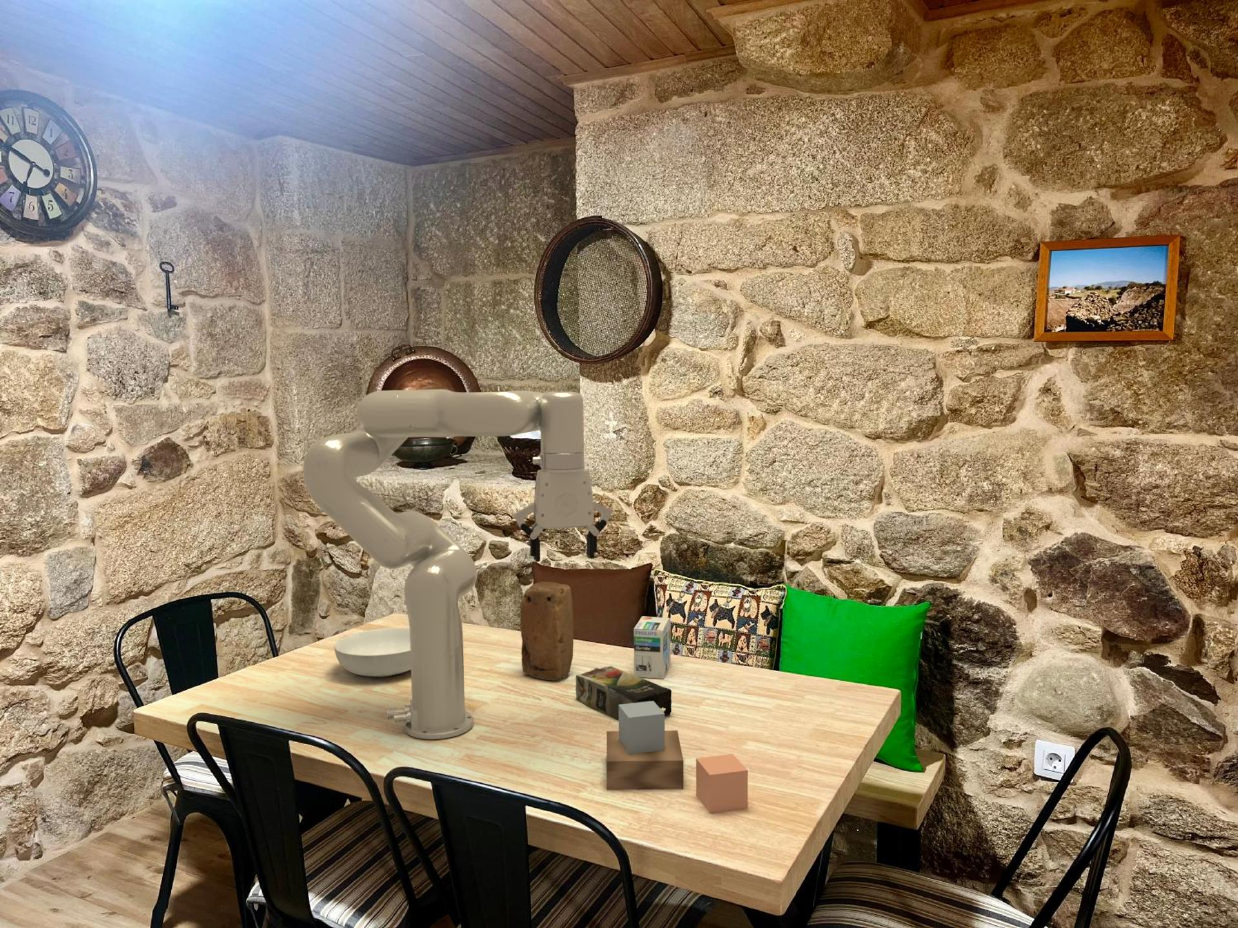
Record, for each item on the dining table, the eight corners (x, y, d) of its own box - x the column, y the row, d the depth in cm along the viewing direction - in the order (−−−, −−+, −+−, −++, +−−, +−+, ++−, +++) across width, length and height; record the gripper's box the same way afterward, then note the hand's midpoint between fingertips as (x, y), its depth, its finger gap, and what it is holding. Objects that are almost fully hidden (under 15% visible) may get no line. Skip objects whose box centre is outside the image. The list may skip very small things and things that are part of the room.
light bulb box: (664, 679, 191) (664, 630, 190) (633, 677, 192) (632, 628, 191) (671, 663, 201) (671, 616, 200) (641, 662, 203) (641, 615, 202)
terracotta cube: (709, 813, 132) (709, 774, 132) (696, 795, 138) (696, 758, 138) (747, 808, 134) (747, 769, 133) (732, 790, 140) (732, 753, 139)
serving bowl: (390, 650, 213) (389, 622, 212) (452, 666, 200) (451, 636, 200) (315, 674, 196) (314, 643, 195) (377, 693, 184) (376, 660, 183)
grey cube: (628, 754, 142) (628, 717, 142) (618, 739, 148) (618, 704, 148) (664, 749, 144) (664, 713, 143) (653, 735, 150) (653, 700, 149)
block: (576, 673, 195) (575, 583, 193) (560, 684, 188) (558, 590, 186) (534, 666, 200) (532, 578, 198) (516, 677, 193) (514, 585, 191)
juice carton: (569, 699, 180) (570, 670, 179) (608, 689, 186) (608, 660, 185) (634, 731, 164) (634, 698, 164) (673, 718, 171) (674, 687, 170)
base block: (606, 791, 140) (606, 761, 140) (606, 759, 152) (606, 731, 152) (683, 790, 140) (683, 760, 140) (677, 758, 152) (677, 730, 152)
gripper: (516, 466, 151) (518, 565, 153) (615, 462, 155) (616, 560, 157) (510, 462, 158) (512, 557, 160) (605, 459, 162) (606, 552, 164)
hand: (563, 558), depth 158 cm, fingers open, 9 cm apart
